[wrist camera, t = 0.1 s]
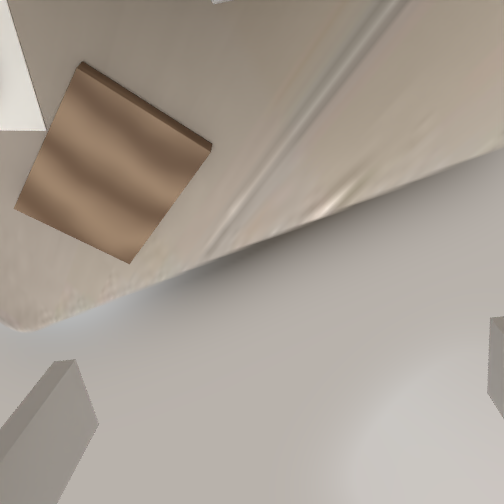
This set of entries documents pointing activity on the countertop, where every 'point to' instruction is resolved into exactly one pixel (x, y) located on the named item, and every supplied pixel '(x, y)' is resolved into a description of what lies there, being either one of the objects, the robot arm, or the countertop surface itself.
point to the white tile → (15, 81)
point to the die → (219, 1)
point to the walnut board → (109, 166)
